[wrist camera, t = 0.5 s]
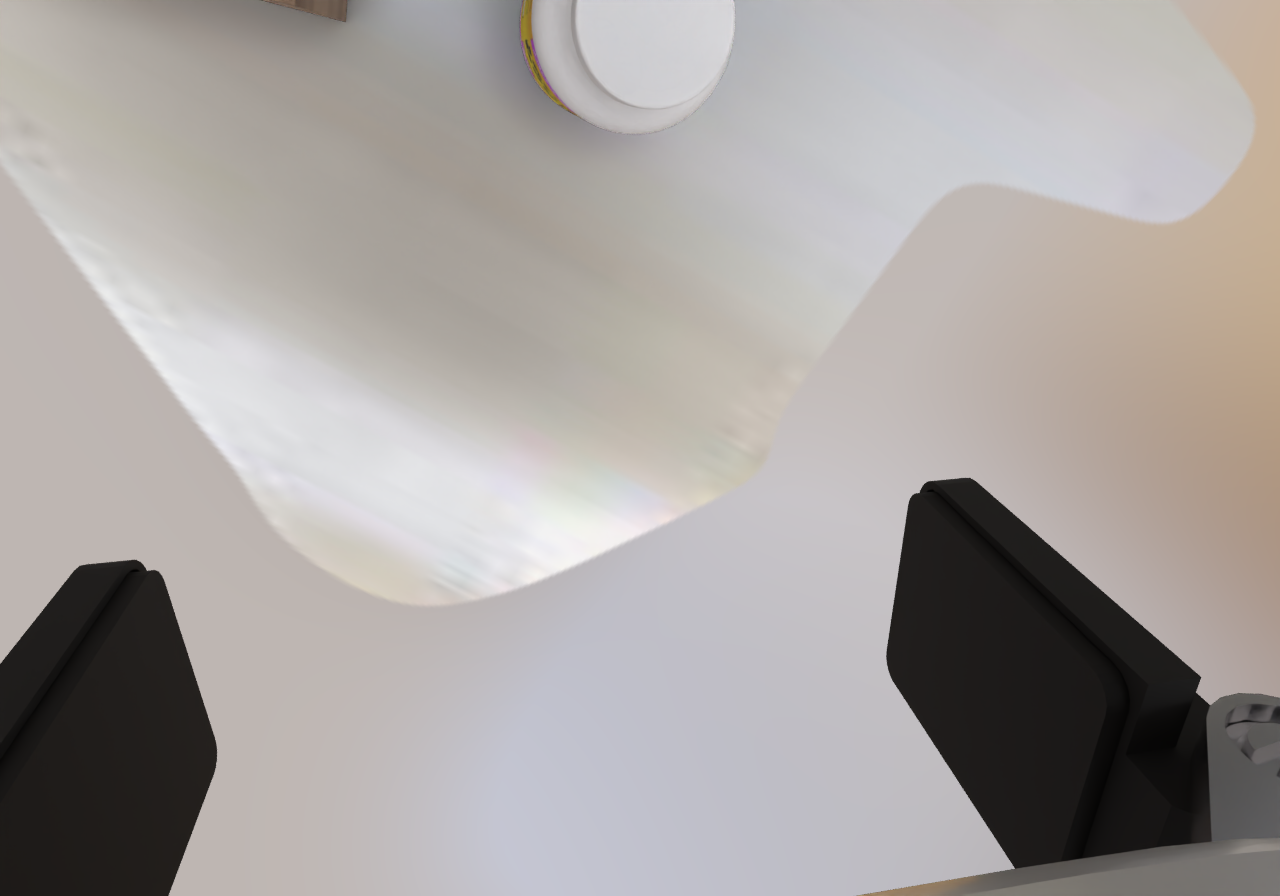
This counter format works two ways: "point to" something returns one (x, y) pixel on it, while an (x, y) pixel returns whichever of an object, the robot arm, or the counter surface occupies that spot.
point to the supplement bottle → (628, 57)
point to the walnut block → (317, 7)
